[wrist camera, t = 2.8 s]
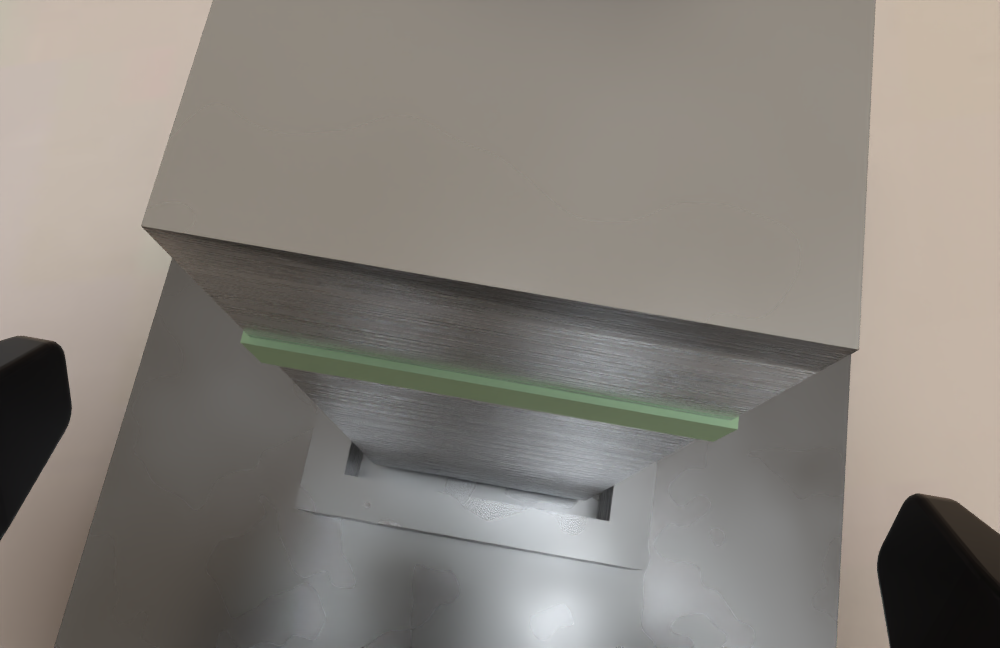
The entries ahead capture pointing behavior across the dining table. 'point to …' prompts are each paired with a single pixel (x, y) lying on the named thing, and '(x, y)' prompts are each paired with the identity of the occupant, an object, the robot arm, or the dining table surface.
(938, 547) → the robot arm
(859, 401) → the dining table surface
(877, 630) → the dining table surface
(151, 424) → the grey square stand
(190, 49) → the dining table surface
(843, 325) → the jack column
